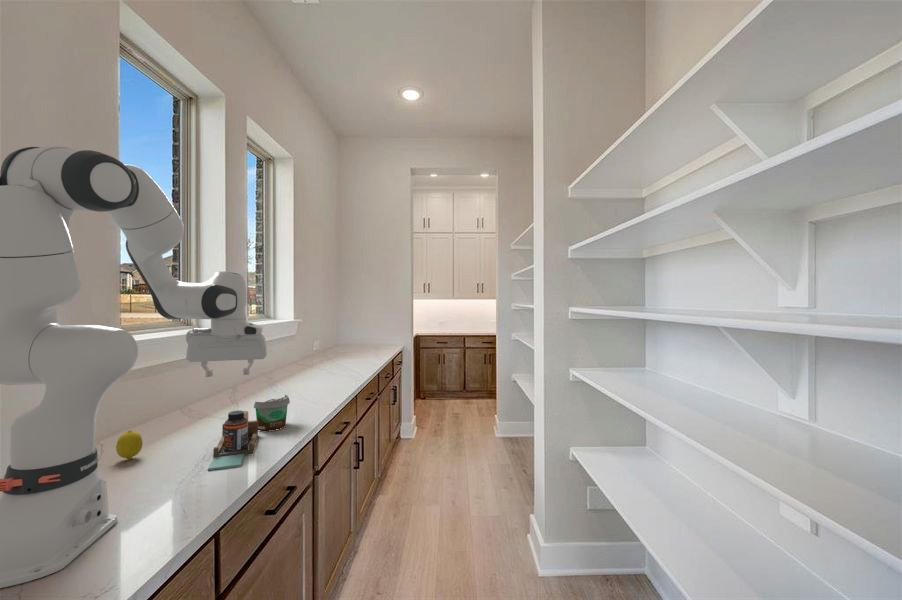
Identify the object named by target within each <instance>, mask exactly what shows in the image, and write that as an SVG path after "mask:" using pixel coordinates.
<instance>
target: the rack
mask: <svg viewBox="0 0 902 600" xmlns="http://www.w3.org/2000/svg"><path fill="white" fill-rule="evenodd" d="M221 427H222V429H221V430H222V436H221V437H220V439H219V441H218V443H217V445H216V446H215V447H213V451H212V452H213V453H212V459H213V458H214V457H222V456H230V455H238V454H244V456H252V454H253V455H254V452H255V449H254V448H256V445H255V444H257V441H258V436H259V431H258V420H257V419H256V420H248V439H251V440H250V442H249V443H248V449H246V450H242V451H234V452H226V453H225V452H223V450H224V423H222V426H221ZM249 437H252V438H249ZM256 440H257V441H256ZM222 449H223V450H222ZM221 451H222V452H221Z"/></svg>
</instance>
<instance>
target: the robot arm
mask: <svg viewBox="0 0 902 600" xmlns="http://www.w3.org/2000/svg"><path fill="white" fill-rule="evenodd" d="M74 211H76V212H78V211H80V212H81V211H83V212H84V211H85V212H88V211H89V212H90V211H94V212H97V213H99V212H102V213H103V212H105V213H106V212H108V213H109V214H110V216H111V218H112V219H113V220H114V222H115V223H116V225H117V227H119V229H120V230H121V232H122V233H123V234H124V236H125V239H126V240H125V250H126V252H127V255H128V257H129V259H130V260H131V262H132V264H133V265H134V267H135V269H136V271H137V272H138V274H139V276H140V278H141V279H142V281H143V282H144V284H145V285H146V287H147V290H148V292H149V293H150V296H151V298H152V302H153V305H154V308H155V310H156V312H157V313H159V315H160V316H161V317H163V318H165V319H168V320H182V319H188V320H210V327H209V328H206V327H205V328H192V329H191V330H189V331H187V332H186V334H185V341H186V343H187V348H186V357H185V359H186V360H187V361H188V362H190V363H194V362H195V363H197V362H198V363H199V362H201V363H200V364H201V365H200V366H201V367H202V369H203V370H204V371H205V378H210V377H211V378H212V377H213V372H214V369H210V367H209V366H208V365H209V362H220V361H221V362H222V361H227V362H229V361H247V364H248V366H247V367H244V368H243V371H242V372H243V374H242V375H243V376H249V375H250V369H251V368H252V366H253V364H254V361H255V360H264V359H265V358H266V357H267V356H268V351H267V350H268V348H267V342H266V338H265V335H263V334H262V333H263V326H262V325H259V324H255V323H253V322H248V321H247V315H246V311H245V309H246V305H247V287H246V281H245V278H244V276H243V275H241V274H239V273H236V272H231V271H216V272H215V273H214V274H213V276H212V277H211V278H209V280H206V281H204V282H200V283H199V282H184V281H180V280H178V279H176V278H175V277H173V275H172V273H171V271H170V270H169V267H168V265H167V263H166V262H165V259H164V257H163V255H165V254H167V253H169V252H170V251H171V250H174V249H175V247H177V245H179V243H180V242H181V241H182V240H183V237H184V234H185V226H184V222H183V220H182V218H181V216H180V215H179V213H178V211H177V210H176V208H175V207H174V205H173V204H172V202H171V200H170V199H169V198H168V196H167V195H166V193H165V192H164V191H163V190H162V188H161V187H160V186H159V185H158V184H157V182H156V180H154V179H153V178H152V177H151V175H149V174H148V172H147V171H145V170H144V169H142V168H141V167H139V166H136V165H133V164H124V163H123V162H122V161H120V160H119V159H117V158H116V157H113V156H112V155H109V154H107V153H103V152H100V151H97V150H91V149H90V150H89V149H88V150H87V149H86V150H84V149H83V150H82V149H77V148H70V147H67V146H43V147H40V146H29V147H23V148H19V149H16V150H14V151H12V152H11V153H9V154H8V155H7V156H6V157H5V158H4V160H3V162H2V164H1V167H0V385H5V386H21V385H22V386H23V385H25V386H26V385H45V391H44V395H43V397H42V400H41V401H40V403H38V404H37V405H35V406H32V407H31V408H29V409H27V410H26V411H25V412H23V413H21V414H20V415H19V416H17V417H16V419H14V421H13V423H12V424H11V426H10V449H9V450H10V451H9V452H10V455H9V457H10V458H9V459H10V463H9V465H8V466H7V468H6V471H5V474H4V476H3V478H1V479H0V492H2V494H1V495H0V589H2V588H7V587H12V586H17V585H21V584H24V583H28V582H31V581H35V580H36V579H40V578H43V577H46V576H49V575H51V574H53V573H57V572H59V571H61V570H62V569H64V568H65V567H66V566H68V565H69V564H70V563H71V562H72V561H73V560H75V559H77V557H78V556H79V555H80V554H81V553H83V552H84V551H85V550H86V549H88V548H89V547H90V546H91V545H93V543H95V542H96V541H97V540H98V539H99V538H100V537H101V536H102V535H104V534H105V533H106V532H107V531H108V530H109V529H111V528H112V527H113V526H114V525H116V524H117V523H118V516H117V514H112V513H110V512H109V499H108V497H109V496H108V487H107V481H106V479H104V478H103V477H102V476H100V475H99V473H98V471H97V469H98V463H99V454H98V449H97V448H95V443H96V441H95V439H96V438H95V437H96V423H97V414H98V411H99V406H100V404H101V402H102V399H103V398H104V397H105V395H106V393H107V391H108V390H109V389H110V388H111V387H112V386H113V385H114V384H115V383H117V381H118V380H120V379H121V378H124V376H126V375H127V374H128V373H129V372H130V371H131V370H132V369H133V367H134V366H135V364H136V362H137V360H138V355H139V348H138V347H139V346H138V344H137V340H136V339H135V337H134V336H133V335H132V334H131V333H130V332H129V331H128V330H125V329H121V328H117V327H112V326H106V325H100V324H99V325H98V324H70V325H68V324H60V323H59V322H58V309H59V308H60V307H62V306H64V305H66V304H68V303H70V302H72V301H73V300H75V298H76V297H77V296H78V295H79V293H80V291H81V289H82V282H81V278H80V272H79V268H78V264H77V260H76V255H75V250H74V246H73V241H72V238H71V235H70V232H69V224H70V223H69V222H70V219H71V216H72V214H73V213H74Z"/></svg>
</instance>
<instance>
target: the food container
mask: <svg viewBox="0 0 902 600" xmlns="http://www.w3.org/2000/svg"><path fill="white" fill-rule="evenodd" d="M290 403H291V400H290V397H289V396H288V395H287V394H284V397H281V398H271V399H268V400H266V401H254V404H253V409H255V414H256V415H255V416H256V420H258V430H260V431H259V432H263V431H266V432H270V431H269V430H275V431H277V430H276V429H279V430H281V429H280V428H282V427H284V426H285V427H286V423H287V414H288V405H289V404H290ZM285 427H284V428H285ZM282 429H283V428H282Z"/></svg>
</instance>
